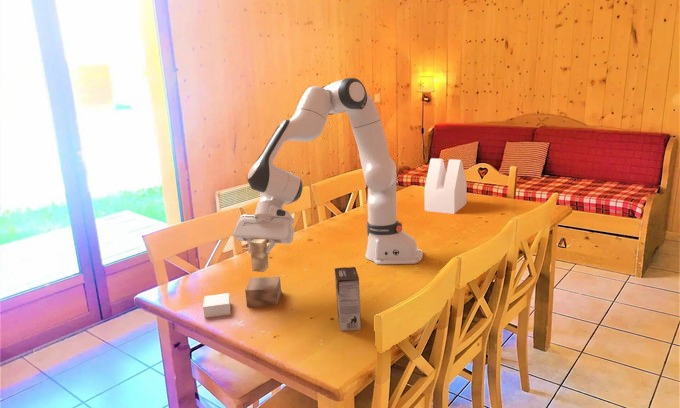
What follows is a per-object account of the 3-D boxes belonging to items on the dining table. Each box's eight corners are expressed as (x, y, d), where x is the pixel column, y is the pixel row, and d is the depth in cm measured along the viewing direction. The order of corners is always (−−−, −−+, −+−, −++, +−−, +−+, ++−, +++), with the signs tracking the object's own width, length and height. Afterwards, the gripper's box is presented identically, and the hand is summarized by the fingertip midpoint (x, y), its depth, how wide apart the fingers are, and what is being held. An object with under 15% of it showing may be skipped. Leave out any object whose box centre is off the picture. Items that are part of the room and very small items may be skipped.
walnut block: (281, 292, 179) (279, 276, 177) (277, 306, 169) (276, 289, 168) (252, 294, 179) (250, 277, 178) (247, 307, 170) (245, 290, 168)
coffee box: (337, 316, 160) (334, 267, 155) (358, 314, 160) (355, 265, 156) (339, 331, 151) (336, 280, 147) (361, 329, 151) (359, 278, 147)
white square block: (230, 304, 173) (229, 292, 172) (230, 315, 165) (229, 303, 164) (205, 307, 171) (204, 296, 170) (204, 318, 164) (203, 307, 163)
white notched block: (454, 214, 255) (454, 163, 249) (424, 211, 263) (424, 162, 256) (466, 204, 271) (466, 156, 264) (438, 201, 279) (437, 155, 272)
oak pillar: (268, 267, 173) (266, 238, 170) (263, 272, 169) (261, 242, 166) (257, 266, 174) (254, 238, 171) (252, 271, 170) (249, 242, 167)
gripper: (236, 210, 176) (225, 247, 169) (293, 212, 170) (284, 250, 164) (243, 218, 181) (233, 255, 175) (298, 221, 176) (290, 258, 169)
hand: (258, 253), depth 169 cm, fingers closed on oak pillar, 4 cm apart
